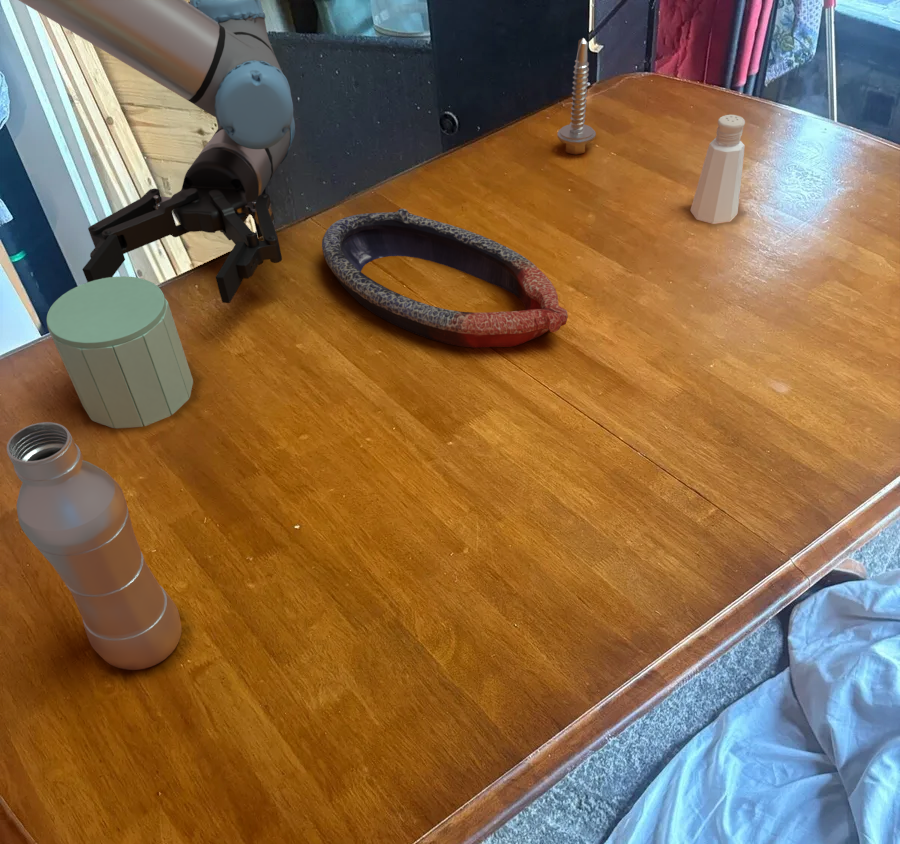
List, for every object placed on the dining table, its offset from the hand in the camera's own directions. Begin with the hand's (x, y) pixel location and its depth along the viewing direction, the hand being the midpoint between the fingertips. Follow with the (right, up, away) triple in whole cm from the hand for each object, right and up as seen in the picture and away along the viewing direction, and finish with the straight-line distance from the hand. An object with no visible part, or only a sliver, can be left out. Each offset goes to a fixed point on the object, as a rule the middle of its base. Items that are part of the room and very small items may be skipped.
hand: (155, 286), depth 86 cm
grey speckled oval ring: (+27, +1, +8) cm, 29 cm away
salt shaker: (+59, +14, +17) cm, 63 cm away
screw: (+45, +28, +29) cm, 60 cm away
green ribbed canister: (-1, -11, 0) cm, 11 cm away
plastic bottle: (+5, -34, -19) cm, 39 cm away
